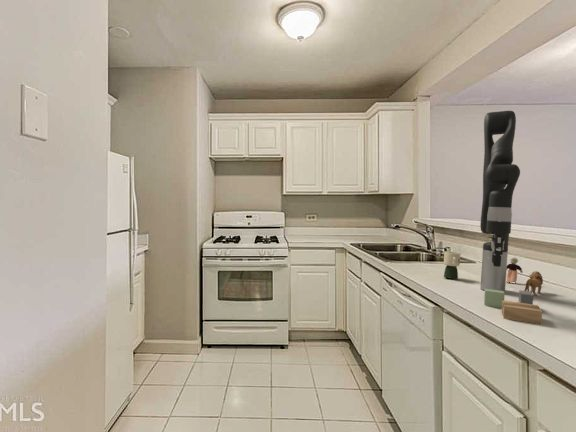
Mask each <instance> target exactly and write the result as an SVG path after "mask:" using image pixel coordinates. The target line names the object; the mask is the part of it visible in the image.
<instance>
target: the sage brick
mask: <svg viewBox="0 0 576 432" xmlns="http://www.w3.org/2000/svg"><path fill="white" fill-rule="evenodd" d="M505 294H506V293H505V292H504V291H499V290H491V289H485V290H484V297H483V298H484V299H483V306H484V305H486V306H485V307H491V306H492V307H493V308H498V309H502V300H505ZM492 307H491V308H492Z"/></svg>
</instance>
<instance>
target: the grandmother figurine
mask: <svg viewBox="0 0 576 432" xmlns="http://www.w3.org/2000/svg"><path fill="white" fill-rule="evenodd" d="M509 261H510V263H507V275H506V282H511V283H512V282H515V283H517V279H518V271H519V273H521V274H522V273H523V272H524V271H523V268H522V267H521V266H520V265H518V264H517V263H518V262H519V259H518V258H517V257H516V256H511V257H510V258H509Z"/></svg>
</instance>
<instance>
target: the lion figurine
mask: <svg viewBox="0 0 576 432" xmlns="http://www.w3.org/2000/svg"><path fill="white" fill-rule="evenodd" d="M528 277H529V279H527V280H526V283H525V287H524V290H523V291H528V292H531V293H532V292H533V293H532V294H533V297H534V296H535V297H538V293H541V294H542V292H541V290H542V285H543V283H544V280H543V276H542V273H541V272H539V271H537V270H533V271H532V272H531V274H529V275H528ZM536 289H537V293H536Z"/></svg>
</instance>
